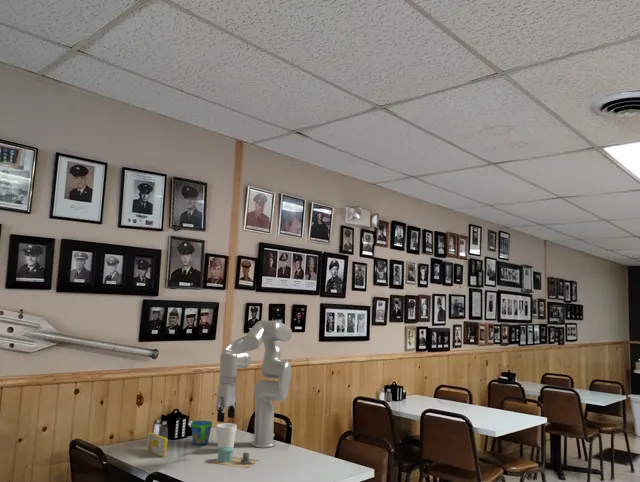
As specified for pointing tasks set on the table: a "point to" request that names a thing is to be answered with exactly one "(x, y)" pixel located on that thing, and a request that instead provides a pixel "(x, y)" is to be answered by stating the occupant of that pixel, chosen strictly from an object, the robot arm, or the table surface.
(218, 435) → the foam cup
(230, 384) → the robot arm
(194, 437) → the snack cup
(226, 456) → the cap
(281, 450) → the table surface
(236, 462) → the board
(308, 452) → the table surface
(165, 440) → the candy box
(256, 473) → the table surface
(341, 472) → the table surface
